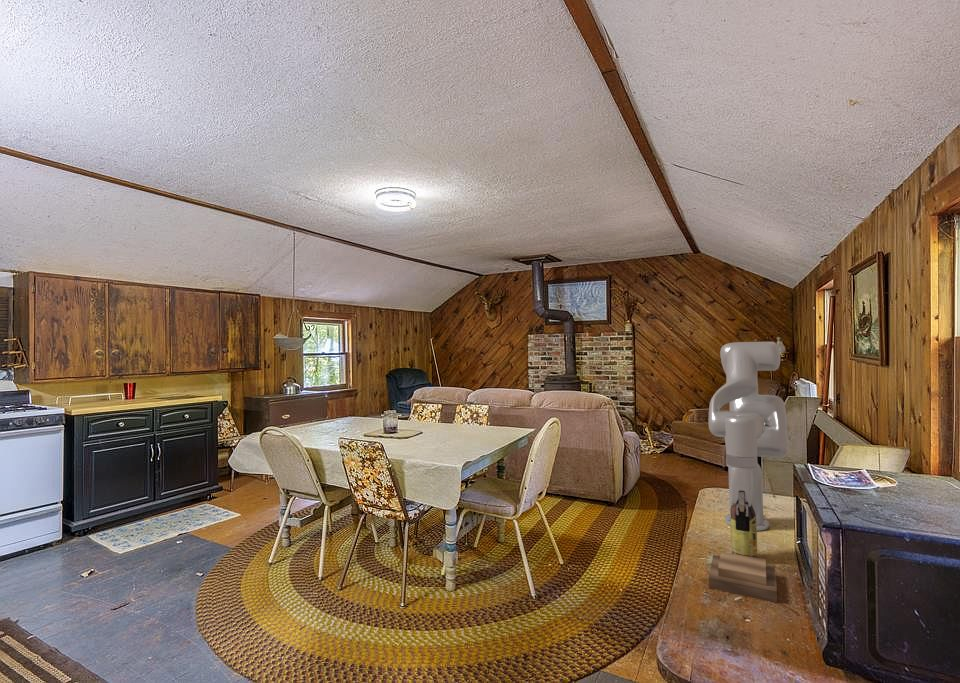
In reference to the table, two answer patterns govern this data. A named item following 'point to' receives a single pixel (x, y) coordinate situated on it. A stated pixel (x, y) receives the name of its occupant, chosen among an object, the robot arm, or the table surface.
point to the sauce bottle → (744, 535)
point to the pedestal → (743, 576)
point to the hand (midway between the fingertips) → (743, 524)
